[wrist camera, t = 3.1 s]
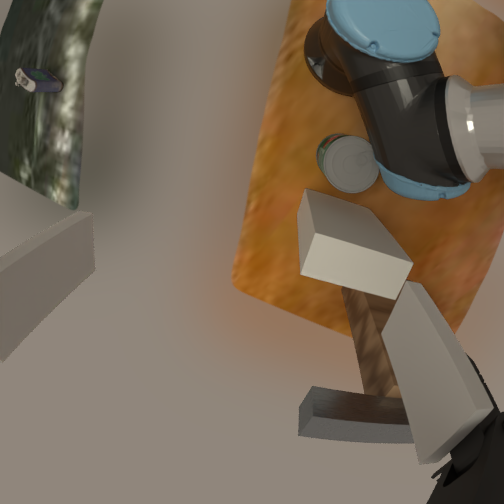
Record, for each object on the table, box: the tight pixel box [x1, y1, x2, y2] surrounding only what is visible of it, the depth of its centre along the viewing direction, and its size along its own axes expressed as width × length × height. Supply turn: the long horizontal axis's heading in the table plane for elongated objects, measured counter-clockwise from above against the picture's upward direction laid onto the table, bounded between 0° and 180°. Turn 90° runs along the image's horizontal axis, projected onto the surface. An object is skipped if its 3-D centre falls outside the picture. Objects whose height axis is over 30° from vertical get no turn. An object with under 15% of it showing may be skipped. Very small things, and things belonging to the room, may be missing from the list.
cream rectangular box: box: [297, 188, 413, 300], centre depth 41 cm, size 6×12×22 cm, turn 76°
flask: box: [15, 68, 63, 92], centre depth 40 cm, size 9×3×11 cm, turn 48°
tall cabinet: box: [341, 280, 412, 398], centre depth 42 cm, size 7×14×30 cm, turn 76°
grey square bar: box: [298, 386, 414, 443], centre depth 27 cm, size 4×24×4 cm, turn 76°
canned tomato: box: [316, 134, 380, 193], centre depth 42 cm, size 8×8×11 cm
